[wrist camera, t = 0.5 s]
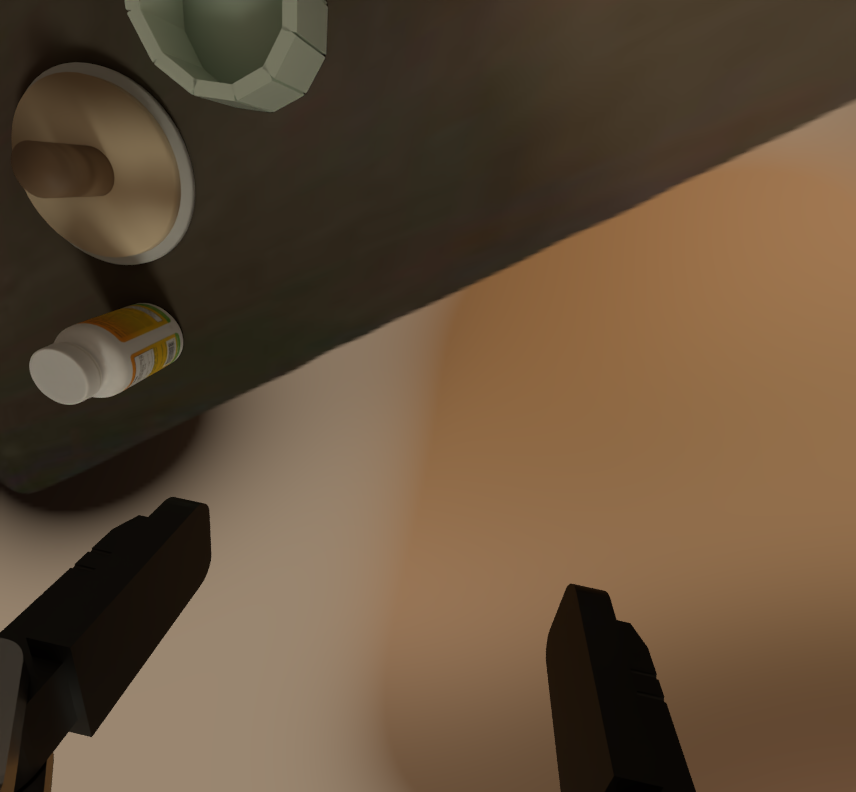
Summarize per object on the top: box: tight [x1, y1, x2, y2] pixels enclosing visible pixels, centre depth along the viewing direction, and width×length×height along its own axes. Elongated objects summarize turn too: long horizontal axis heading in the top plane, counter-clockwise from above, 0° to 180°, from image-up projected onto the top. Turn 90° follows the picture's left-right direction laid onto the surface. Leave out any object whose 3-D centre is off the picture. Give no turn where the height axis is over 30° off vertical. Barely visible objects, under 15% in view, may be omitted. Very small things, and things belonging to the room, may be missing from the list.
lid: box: [11, 72, 181, 258], centre depth 31 cm, size 12×12×6 cm
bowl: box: [125, 0, 328, 112], centre depth 27 cm, size 10×10×5 cm
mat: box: [26, 62, 195, 265], centre depth 34 cm, size 13×13×1 cm
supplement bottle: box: [29, 303, 183, 405], centre depth 35 cm, size 5×5×10 cm
